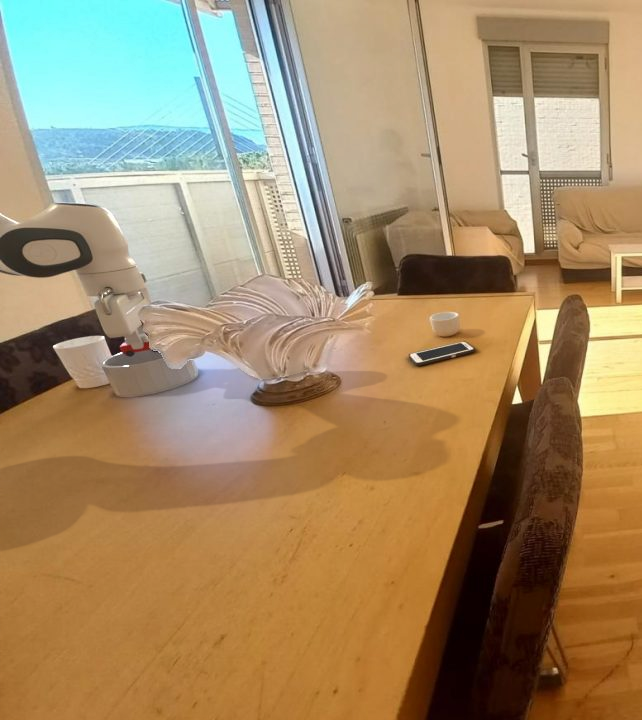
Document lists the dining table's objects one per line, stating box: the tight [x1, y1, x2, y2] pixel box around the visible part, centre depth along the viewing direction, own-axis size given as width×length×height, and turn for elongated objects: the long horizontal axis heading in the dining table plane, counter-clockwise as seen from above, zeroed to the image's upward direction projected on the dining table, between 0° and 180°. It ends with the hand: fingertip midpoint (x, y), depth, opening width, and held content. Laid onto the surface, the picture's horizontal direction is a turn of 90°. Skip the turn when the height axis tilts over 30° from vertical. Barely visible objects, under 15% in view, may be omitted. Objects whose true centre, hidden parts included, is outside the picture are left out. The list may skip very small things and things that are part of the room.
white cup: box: [52, 335, 113, 389], centre depth 107 cm, size 8×8×10 cm
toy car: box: [119, 333, 158, 357], centre depth 104 cm, size 6×4×4 cm, turn 122°
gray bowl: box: [100, 350, 199, 398], centre depth 106 cm, size 14×14×7 cm
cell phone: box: [408, 340, 476, 367], centre depth 118 cm, size 8×15×1 cm, turn 127°
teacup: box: [429, 311, 461, 338], centre depth 133 cm, size 10×8×5 cm
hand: (142, 344), depth 104 cm, fingers closed on toy car, 3 cm apart
